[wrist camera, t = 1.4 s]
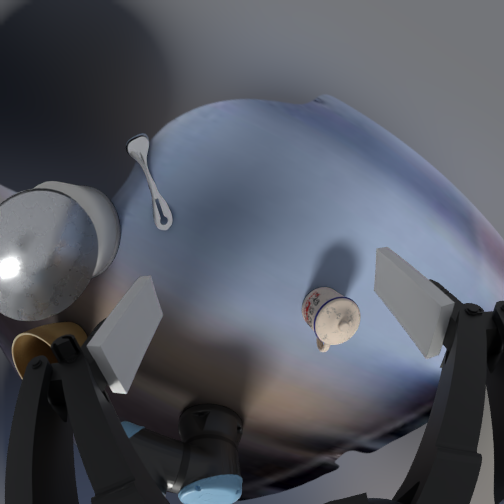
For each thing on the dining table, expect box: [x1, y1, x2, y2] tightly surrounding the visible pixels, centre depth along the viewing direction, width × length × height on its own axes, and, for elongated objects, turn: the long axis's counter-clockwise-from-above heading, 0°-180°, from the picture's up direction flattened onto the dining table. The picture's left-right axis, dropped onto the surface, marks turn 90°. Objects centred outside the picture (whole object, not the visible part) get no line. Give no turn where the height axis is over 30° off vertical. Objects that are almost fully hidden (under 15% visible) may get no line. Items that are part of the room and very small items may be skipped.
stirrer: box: [126, 133, 173, 231], centre depth 45 cm, size 20×4×5 cm
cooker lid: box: [0, 188, 98, 321], centre depth 25 cm, size 19×21×2 cm
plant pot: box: [12, 322, 87, 379], centre depth 40 cm, size 15×15×16 cm
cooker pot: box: [34, 181, 121, 278], centre depth 40 cm, size 19×19×12 cm
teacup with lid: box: [302, 287, 360, 352], centre depth 48 cm, size 12×9×12 cm
